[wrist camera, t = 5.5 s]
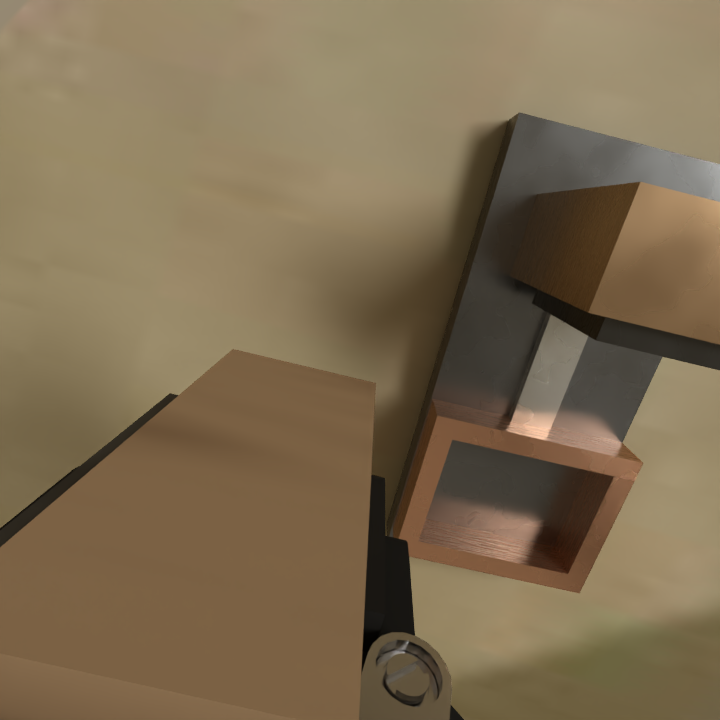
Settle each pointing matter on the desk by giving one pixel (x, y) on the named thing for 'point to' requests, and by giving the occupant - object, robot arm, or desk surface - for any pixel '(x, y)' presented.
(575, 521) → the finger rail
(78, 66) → the desk surface
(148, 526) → the small cardboard box
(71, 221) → the desk surface
